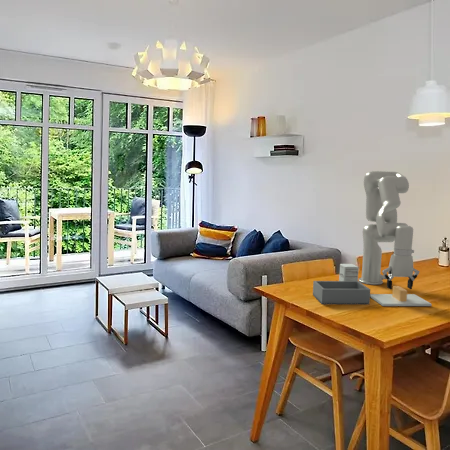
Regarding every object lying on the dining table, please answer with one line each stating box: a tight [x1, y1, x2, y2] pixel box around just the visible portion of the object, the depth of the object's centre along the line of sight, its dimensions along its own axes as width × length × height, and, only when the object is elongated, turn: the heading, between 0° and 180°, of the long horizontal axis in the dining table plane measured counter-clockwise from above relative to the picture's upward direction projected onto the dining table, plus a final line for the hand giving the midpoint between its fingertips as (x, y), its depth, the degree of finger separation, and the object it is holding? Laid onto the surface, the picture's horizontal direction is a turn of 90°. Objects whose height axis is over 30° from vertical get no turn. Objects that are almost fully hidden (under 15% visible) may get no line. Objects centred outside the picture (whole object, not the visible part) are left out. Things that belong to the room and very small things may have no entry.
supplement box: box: [338, 263, 359, 281], centre depth 226 cm, size 7×7×13 cm
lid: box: [370, 285, 432, 307], centre depth 207 cm, size 23×16×7 cm
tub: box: [312, 280, 371, 305], centre depth 208 cm, size 22×15×7 cm
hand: (399, 288), depth 207 cm, fingers open, 9 cm apart
